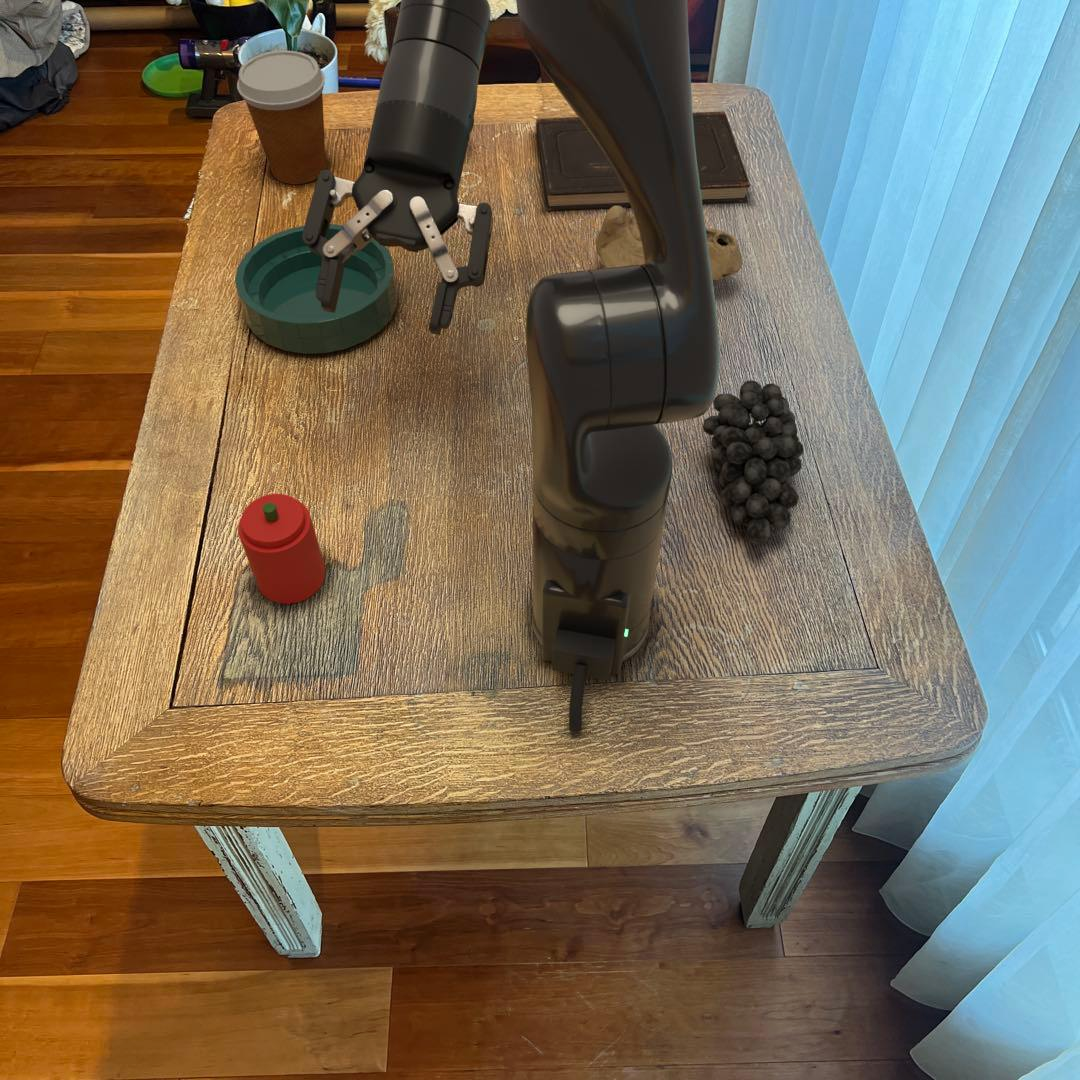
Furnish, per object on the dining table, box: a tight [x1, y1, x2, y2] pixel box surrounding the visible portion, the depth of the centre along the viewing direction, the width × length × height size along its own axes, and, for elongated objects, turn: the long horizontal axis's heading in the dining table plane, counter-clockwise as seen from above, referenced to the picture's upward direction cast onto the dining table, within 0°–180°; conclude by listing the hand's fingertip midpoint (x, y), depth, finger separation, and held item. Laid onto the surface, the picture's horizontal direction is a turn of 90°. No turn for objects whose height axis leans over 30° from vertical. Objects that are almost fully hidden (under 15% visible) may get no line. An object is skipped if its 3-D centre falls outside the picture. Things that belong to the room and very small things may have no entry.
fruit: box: [702, 380, 805, 545], centre depth 87 cm, size 9×8×15 cm
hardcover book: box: [535, 110, 751, 212], centre depth 120 cm, size 16×23×2 cm
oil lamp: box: [595, 206, 744, 282], centre depth 105 cm, size 11×15×8 cm
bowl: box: [234, 223, 399, 355], centre depth 104 cm, size 16×16×4 cm
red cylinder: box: [237, 493, 326, 605], centre depth 81 cm, size 6×6×9 cm
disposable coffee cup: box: [236, 50, 327, 185], centre depth 116 cm, size 10×10×12 cm
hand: (381, 321), depth 80 cm, fingers open, 8 cm apart
